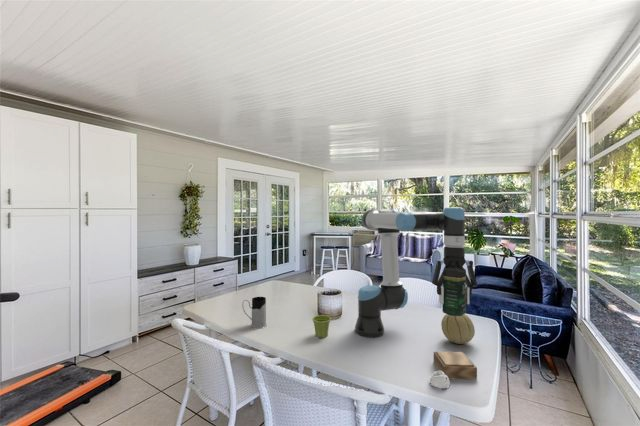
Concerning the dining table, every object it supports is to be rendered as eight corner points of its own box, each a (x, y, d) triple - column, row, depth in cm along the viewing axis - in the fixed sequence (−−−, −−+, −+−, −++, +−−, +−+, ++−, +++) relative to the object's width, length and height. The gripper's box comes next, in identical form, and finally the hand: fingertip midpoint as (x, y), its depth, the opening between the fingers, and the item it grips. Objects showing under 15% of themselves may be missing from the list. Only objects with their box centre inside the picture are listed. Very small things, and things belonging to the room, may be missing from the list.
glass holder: (263, 329, 159) (263, 301, 159) (238, 327, 162) (238, 299, 162) (269, 323, 168) (269, 296, 168) (246, 321, 170) (246, 295, 170)
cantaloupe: (473, 352, 132) (473, 318, 132) (438, 344, 140) (438, 313, 140) (476, 340, 145) (476, 309, 145) (444, 333, 153) (444, 304, 153)
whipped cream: (444, 395, 103) (445, 382, 102) (425, 386, 107) (426, 373, 107) (451, 383, 109) (452, 371, 108) (433, 375, 113) (434, 363, 113)
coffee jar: (461, 318, 111) (461, 269, 111) (440, 314, 116) (440, 266, 116) (468, 312, 118) (468, 265, 118) (447, 308, 123) (447, 263, 123)
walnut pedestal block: (444, 378, 112) (444, 365, 112) (433, 362, 124) (433, 350, 124) (476, 379, 111) (476, 366, 111) (463, 363, 123) (463, 351, 123)
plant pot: (317, 340, 145) (317, 323, 145) (309, 333, 153) (309, 317, 153) (334, 337, 149) (334, 319, 149) (325, 330, 157) (325, 314, 157)
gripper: (429, 247, 114) (429, 305, 114) (487, 247, 113) (487, 306, 113) (423, 245, 121) (423, 299, 121) (477, 245, 120) (477, 300, 120)
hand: (454, 302), depth 117 cm, fingers closed on coffee jar, 9 cm apart
